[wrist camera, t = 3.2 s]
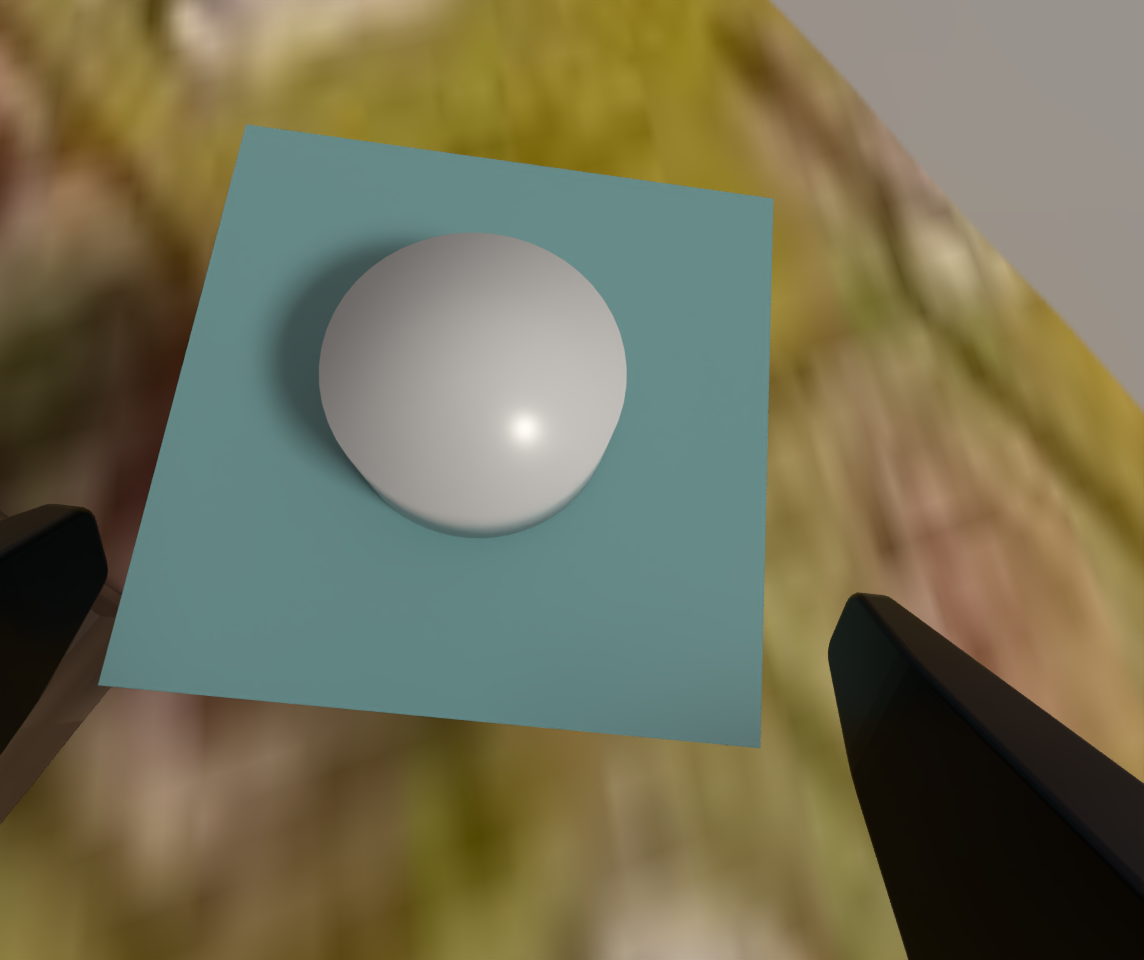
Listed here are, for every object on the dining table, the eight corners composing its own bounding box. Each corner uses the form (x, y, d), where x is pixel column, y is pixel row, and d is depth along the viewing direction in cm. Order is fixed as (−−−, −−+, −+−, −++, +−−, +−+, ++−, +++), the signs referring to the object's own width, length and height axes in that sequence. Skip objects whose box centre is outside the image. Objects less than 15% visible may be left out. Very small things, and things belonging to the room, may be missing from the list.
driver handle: (585, 688, 16) (806, 764, 4) (393, 669, 16) (14, 688, 4) (601, 503, 18) (811, 130, 5) (422, 483, 17) (204, 42, 5)
